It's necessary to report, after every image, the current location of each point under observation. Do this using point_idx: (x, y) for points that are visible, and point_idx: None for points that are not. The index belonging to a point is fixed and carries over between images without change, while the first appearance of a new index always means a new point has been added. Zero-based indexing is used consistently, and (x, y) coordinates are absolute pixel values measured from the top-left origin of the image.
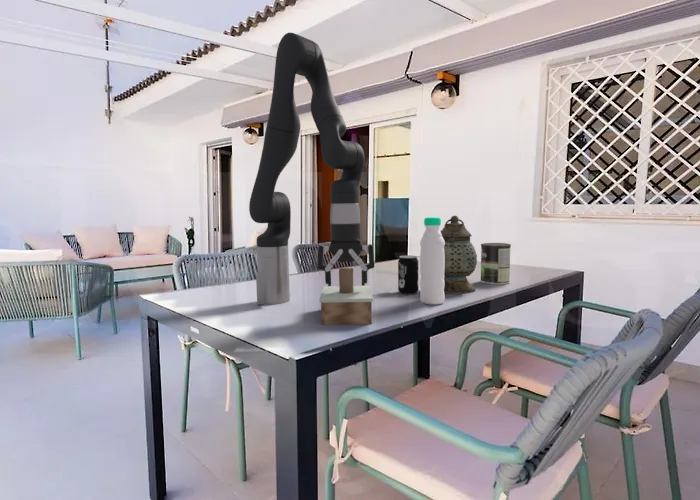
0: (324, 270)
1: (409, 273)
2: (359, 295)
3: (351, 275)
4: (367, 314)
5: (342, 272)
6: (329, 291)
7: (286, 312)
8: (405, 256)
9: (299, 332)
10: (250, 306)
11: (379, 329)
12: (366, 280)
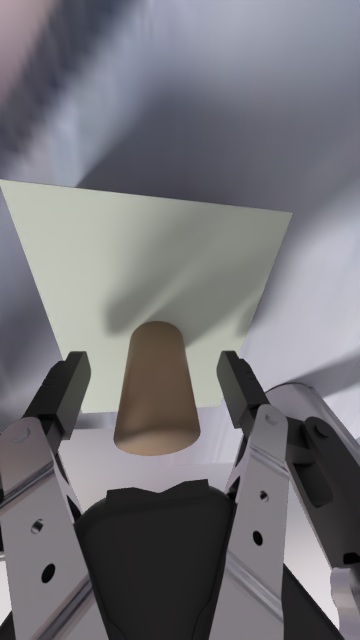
0: (279, 414)
1: (3, 496)
2: (96, 273)
3: (128, 388)
4: None
5: (181, 398)
6: (216, 351)
7: (281, 347)
8: (2, 557)
9: (314, 150)
10: (326, 382)
11: (33, 134)
12: (52, 372)
